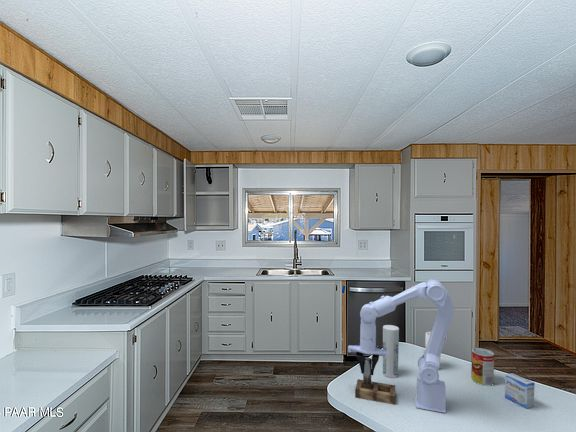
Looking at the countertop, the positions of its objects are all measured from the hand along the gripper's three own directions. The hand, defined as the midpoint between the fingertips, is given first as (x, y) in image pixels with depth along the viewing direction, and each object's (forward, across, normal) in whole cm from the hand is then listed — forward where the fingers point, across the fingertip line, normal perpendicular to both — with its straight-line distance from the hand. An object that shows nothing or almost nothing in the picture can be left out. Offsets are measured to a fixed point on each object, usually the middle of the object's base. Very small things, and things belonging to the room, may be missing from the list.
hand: (367, 373), depth 125 cm
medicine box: (+8, -53, -13) cm, 55 cm away
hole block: (+8, -3, 0) cm, 8 cm away
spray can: (+8, -8, -19) cm, 22 cm away
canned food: (+8, -44, -26) cm, 52 cm away
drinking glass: (+8, -26, -32) cm, 42 cm away
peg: (+3, 0, 0) cm, 4 cm away
